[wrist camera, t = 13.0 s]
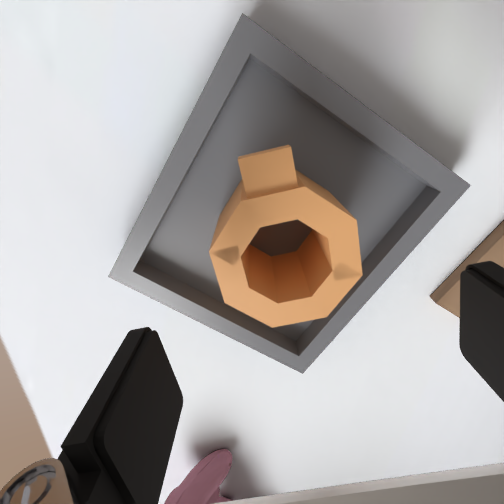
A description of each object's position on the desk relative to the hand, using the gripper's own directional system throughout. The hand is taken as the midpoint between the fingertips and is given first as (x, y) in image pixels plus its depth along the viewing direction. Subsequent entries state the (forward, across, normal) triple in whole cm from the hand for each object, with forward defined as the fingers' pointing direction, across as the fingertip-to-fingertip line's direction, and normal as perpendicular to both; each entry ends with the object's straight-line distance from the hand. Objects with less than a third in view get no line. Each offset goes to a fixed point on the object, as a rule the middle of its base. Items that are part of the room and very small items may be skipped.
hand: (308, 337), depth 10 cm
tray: (+10, 0, -1) cm, 10 cm away
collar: (+9, 0, -1) cm, 9 cm away
